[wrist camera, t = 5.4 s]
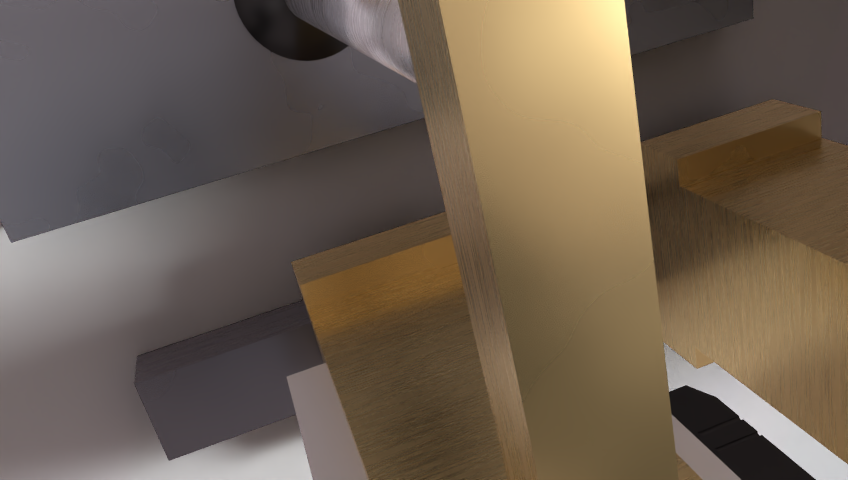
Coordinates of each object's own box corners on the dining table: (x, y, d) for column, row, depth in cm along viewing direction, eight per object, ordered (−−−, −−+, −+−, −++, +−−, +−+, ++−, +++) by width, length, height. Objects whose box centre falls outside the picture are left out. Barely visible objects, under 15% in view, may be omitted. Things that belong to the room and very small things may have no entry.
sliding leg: (350, 466, 18) (577, 1140, 8) (161, -106, 13) (110, -299, 3) (504, 407, 18) (897, 955, 8) (380, -157, 13) (962, -458, 3)
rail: (169, 429, 18) (169, 460, 17) (137, 356, 17) (134, 384, 16) (738, 226, 20) (769, 241, 19) (733, 154, 20) (766, 167, 19)
